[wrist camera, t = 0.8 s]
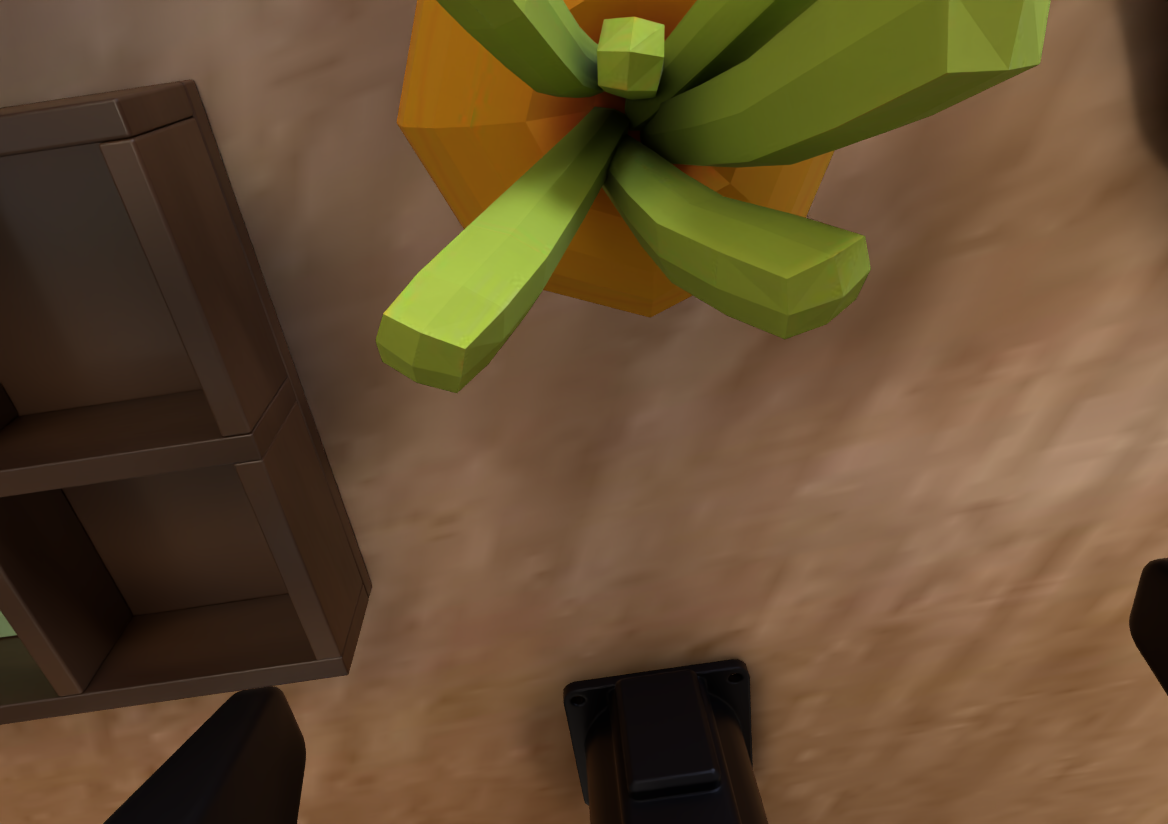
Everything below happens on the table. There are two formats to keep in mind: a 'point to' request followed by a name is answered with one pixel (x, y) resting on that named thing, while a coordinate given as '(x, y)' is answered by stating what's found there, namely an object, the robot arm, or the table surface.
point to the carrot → (662, 152)
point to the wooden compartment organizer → (151, 427)
